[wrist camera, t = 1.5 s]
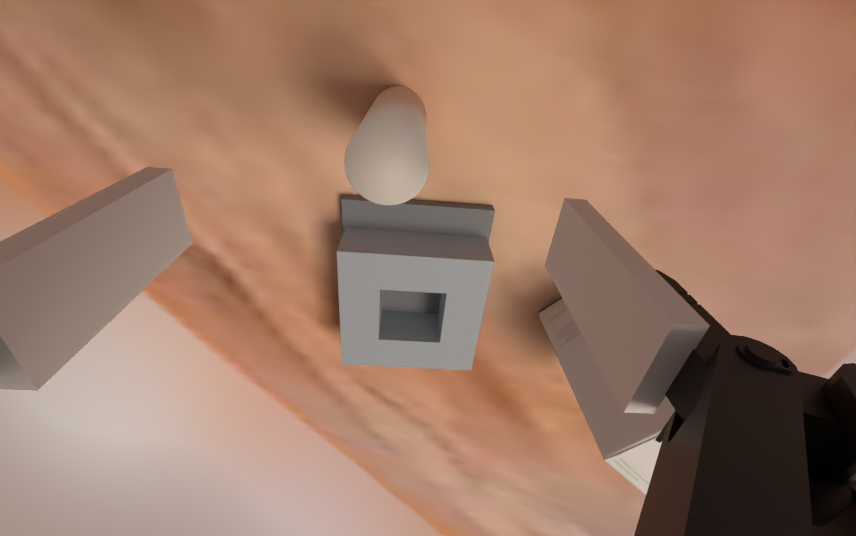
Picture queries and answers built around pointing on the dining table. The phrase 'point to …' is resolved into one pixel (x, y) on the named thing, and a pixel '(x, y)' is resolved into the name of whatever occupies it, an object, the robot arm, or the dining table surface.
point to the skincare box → (605, 403)
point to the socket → (412, 282)
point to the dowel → (390, 149)
